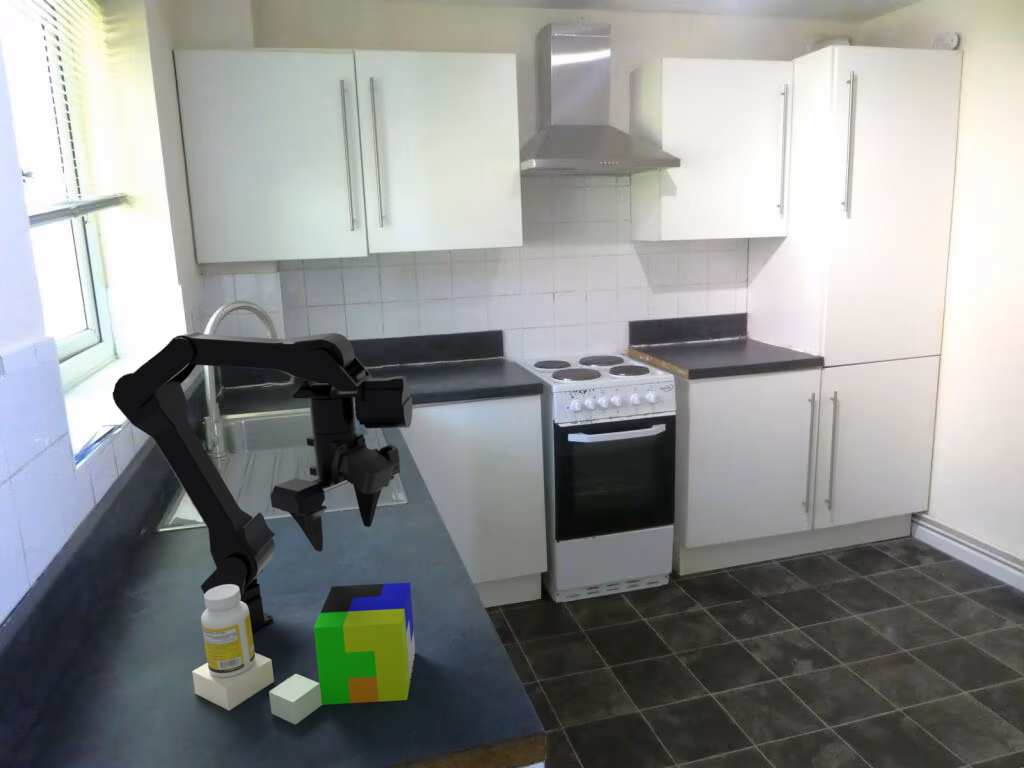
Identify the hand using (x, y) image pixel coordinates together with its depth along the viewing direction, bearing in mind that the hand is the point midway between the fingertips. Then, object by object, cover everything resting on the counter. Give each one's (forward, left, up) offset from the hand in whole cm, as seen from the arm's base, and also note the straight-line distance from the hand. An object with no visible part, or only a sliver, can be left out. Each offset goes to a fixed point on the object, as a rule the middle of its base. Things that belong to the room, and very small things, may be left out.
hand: (344, 538), depth 101 cm
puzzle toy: (+11, -8, -13) cm, 19 cm away
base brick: (-2, -18, -13) cm, 22 cm away
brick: (+8, -17, -13) cm, 23 cm away
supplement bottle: (-2, -18, -10) cm, 21 cm away
